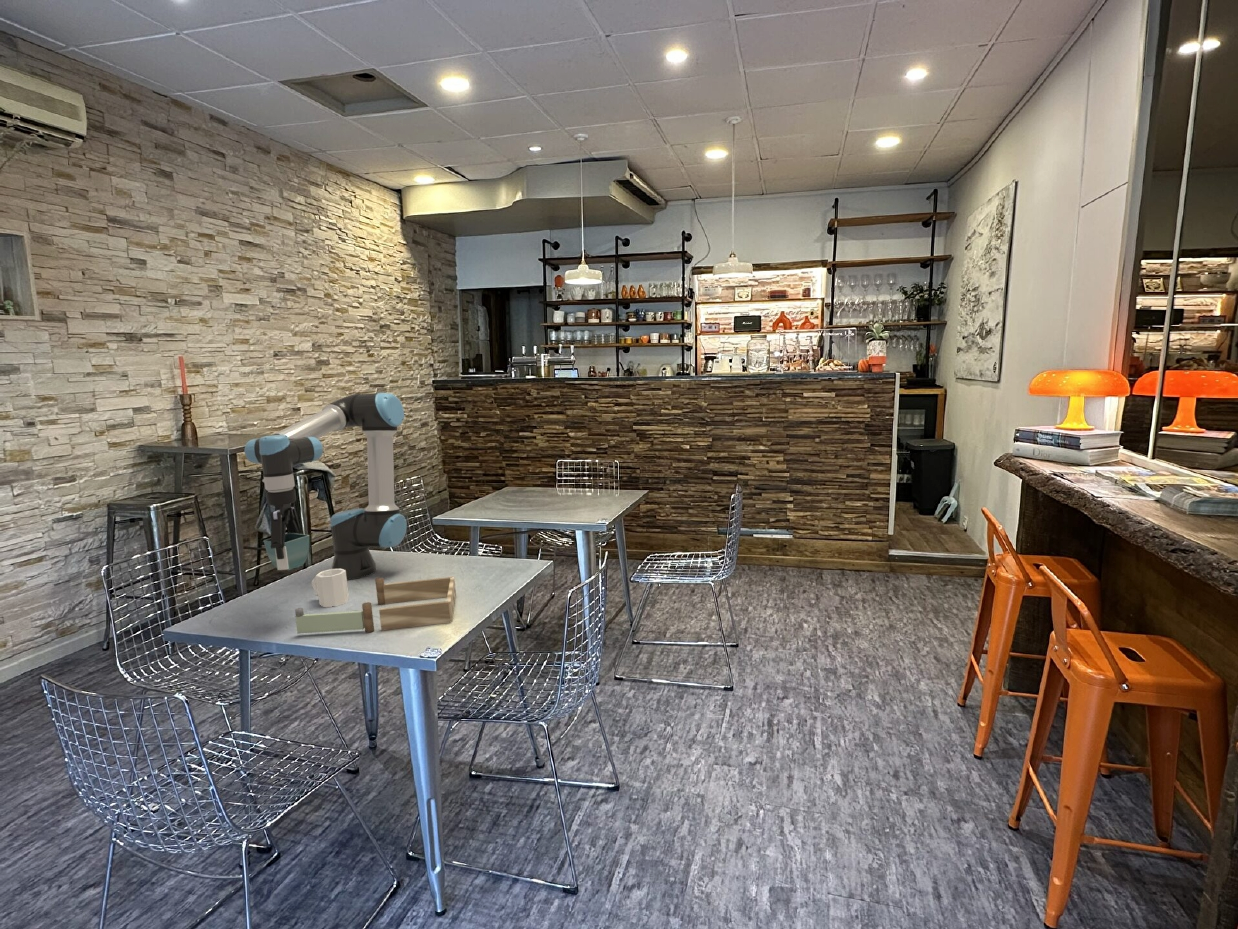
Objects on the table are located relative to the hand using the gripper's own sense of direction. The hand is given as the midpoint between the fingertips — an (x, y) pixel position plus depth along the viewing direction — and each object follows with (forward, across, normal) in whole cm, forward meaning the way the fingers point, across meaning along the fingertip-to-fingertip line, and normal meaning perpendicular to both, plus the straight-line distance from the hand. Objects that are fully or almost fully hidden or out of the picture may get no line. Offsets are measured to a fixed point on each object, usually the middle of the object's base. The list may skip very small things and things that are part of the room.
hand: (290, 563), depth 188 cm
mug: (+18, -15, +5) cm, 24 cm away
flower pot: (+2, 0, 0) cm, 2 cm away
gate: (+17, +12, +12) cm, 24 cm away
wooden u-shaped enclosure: (+18, +2, +34) cm, 38 cm away
